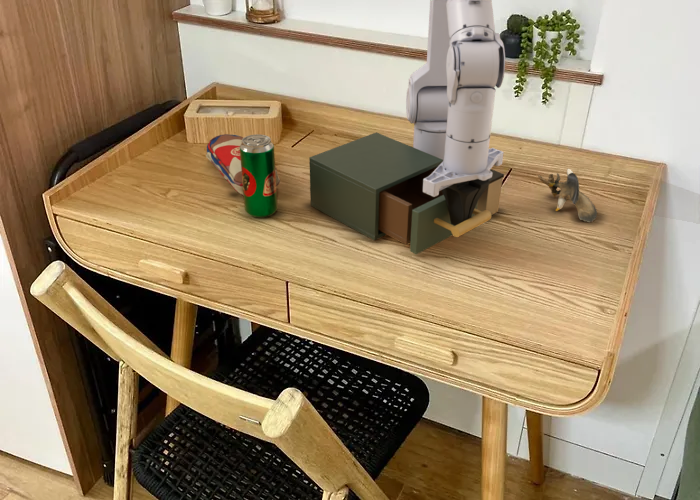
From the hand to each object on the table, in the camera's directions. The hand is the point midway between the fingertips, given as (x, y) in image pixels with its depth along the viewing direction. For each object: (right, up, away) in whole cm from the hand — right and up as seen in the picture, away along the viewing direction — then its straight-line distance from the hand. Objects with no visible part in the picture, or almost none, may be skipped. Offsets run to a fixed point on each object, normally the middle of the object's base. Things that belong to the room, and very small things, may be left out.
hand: (459, 224), depth 100 cm
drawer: (-4, 0, +5) cm, 7 cm away
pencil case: (-34, +9, +21) cm, 41 cm away
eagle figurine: (+19, +3, +12) cm, 23 cm away
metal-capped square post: (+6, +2, +11) cm, 13 cm away
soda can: (-29, +2, +11) cm, 31 cm away
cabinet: (-11, +3, +12) cm, 17 cm away
